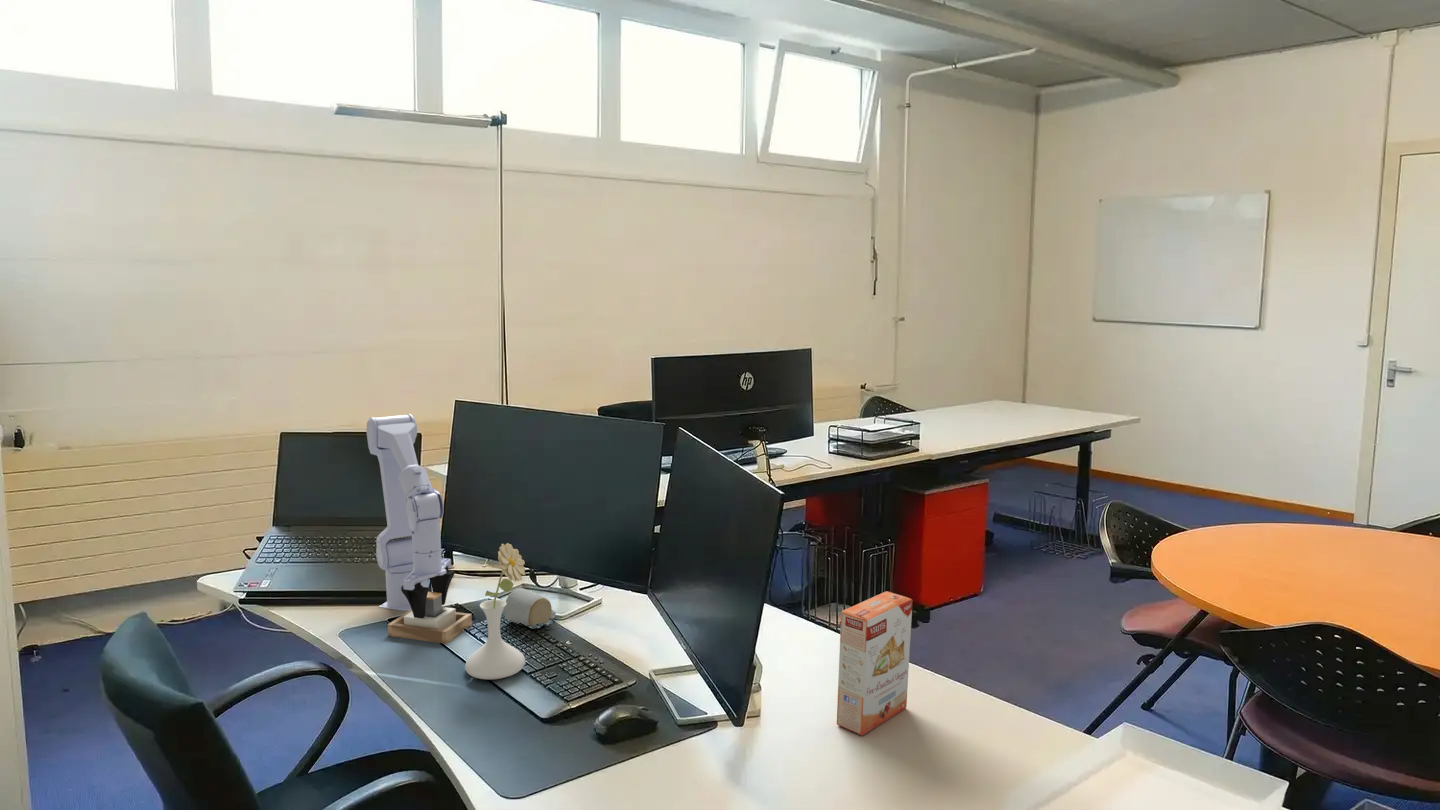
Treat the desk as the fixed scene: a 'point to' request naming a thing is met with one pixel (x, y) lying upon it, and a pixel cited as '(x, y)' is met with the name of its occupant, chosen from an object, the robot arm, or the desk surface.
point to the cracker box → (873, 661)
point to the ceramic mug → (528, 607)
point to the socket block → (433, 619)
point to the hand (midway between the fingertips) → (429, 610)
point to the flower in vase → (498, 626)
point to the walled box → (429, 629)
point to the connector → (433, 605)
